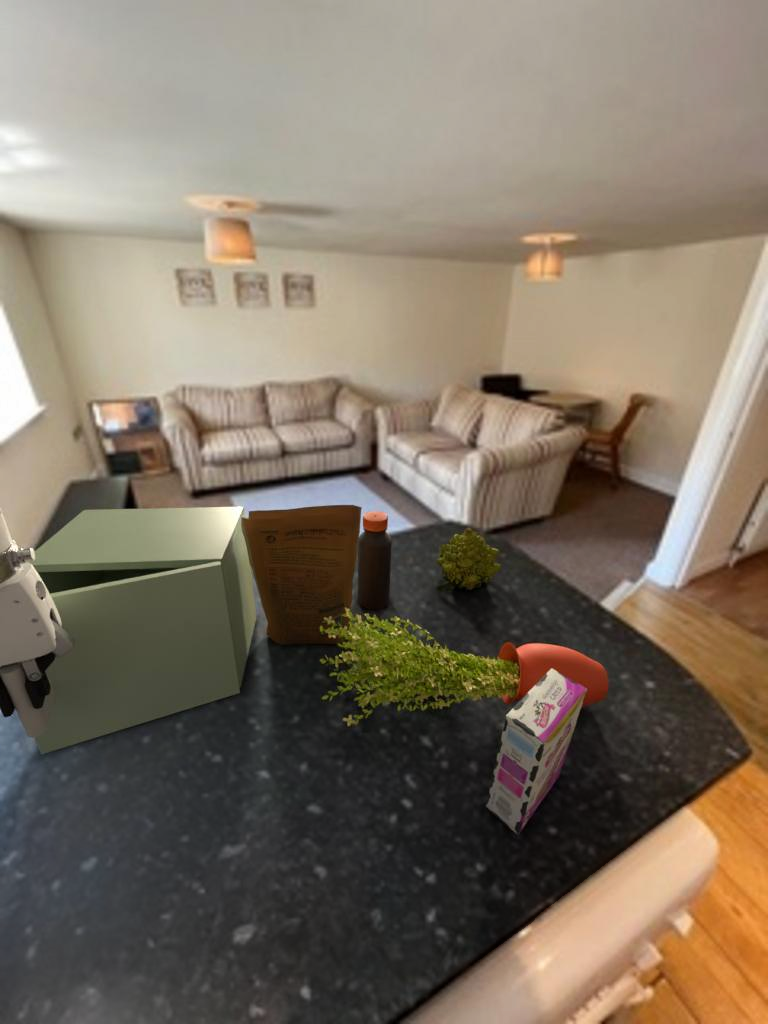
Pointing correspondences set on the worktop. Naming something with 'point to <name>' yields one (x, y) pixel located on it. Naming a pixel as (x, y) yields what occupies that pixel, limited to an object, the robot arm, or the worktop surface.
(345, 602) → the pancake mix bag
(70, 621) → the door
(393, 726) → the worktop surface
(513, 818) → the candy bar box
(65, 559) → the cabinet
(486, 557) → the vegetable
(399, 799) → the worktop surface
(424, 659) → the potted plant
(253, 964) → the worktop surface
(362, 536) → the bottle
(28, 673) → the robot arm
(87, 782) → the worktop surface
